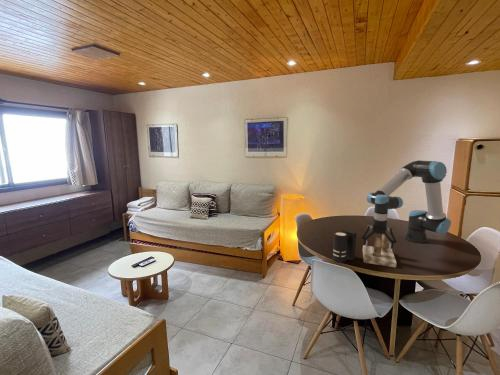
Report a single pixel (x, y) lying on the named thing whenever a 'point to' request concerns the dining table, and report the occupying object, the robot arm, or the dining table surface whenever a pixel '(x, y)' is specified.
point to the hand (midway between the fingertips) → (377, 251)
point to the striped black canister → (344, 246)
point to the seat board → (385, 256)
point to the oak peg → (377, 247)
